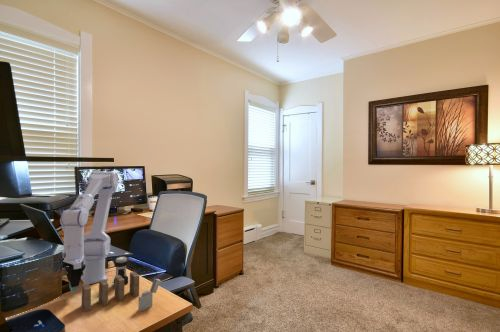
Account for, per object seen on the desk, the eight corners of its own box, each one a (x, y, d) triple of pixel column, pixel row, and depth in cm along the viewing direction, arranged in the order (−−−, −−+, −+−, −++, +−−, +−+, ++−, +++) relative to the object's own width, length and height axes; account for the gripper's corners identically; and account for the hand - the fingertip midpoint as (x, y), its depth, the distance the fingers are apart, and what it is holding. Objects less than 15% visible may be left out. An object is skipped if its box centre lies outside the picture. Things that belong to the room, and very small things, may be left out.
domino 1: (69, 287, 93) (69, 267, 93) (74, 286, 94) (75, 266, 94) (71, 292, 89) (72, 271, 89) (77, 291, 90) (77, 270, 90)
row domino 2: (98, 300, 90) (99, 280, 90) (103, 299, 91) (104, 278, 91) (102, 306, 86) (103, 285, 86) (107, 305, 87) (108, 283, 87)
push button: (111, 289, 98) (111, 262, 98) (107, 284, 102) (107, 258, 102) (130, 284, 102) (130, 258, 102) (125, 280, 106) (126, 255, 106)
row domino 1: (81, 305, 87) (81, 284, 87) (87, 304, 88) (87, 282, 88) (84, 312, 83) (85, 289, 83) (90, 310, 84) (90, 288, 84)
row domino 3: (114, 296, 93) (115, 276, 93) (119, 294, 94) (119, 274, 94) (119, 301, 90) (119, 280, 90) (124, 300, 91) (124, 279, 91)
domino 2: (129, 291, 97) (129, 272, 97) (134, 290, 98) (134, 271, 98) (134, 296, 93) (134, 276, 93) (139, 295, 94) (139, 275, 94)
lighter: (141, 311, 84) (141, 286, 84) (138, 309, 85) (138, 284, 85) (160, 302, 90) (160, 278, 90) (157, 300, 91) (157, 277, 91)
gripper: (56, 241, 94) (56, 279, 94) (63, 251, 83) (62, 295, 83) (80, 238, 99) (79, 274, 99) (88, 247, 88) (88, 288, 88)
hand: (73, 283), depth 91 cm, fingers closed on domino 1, 5 cm apart
